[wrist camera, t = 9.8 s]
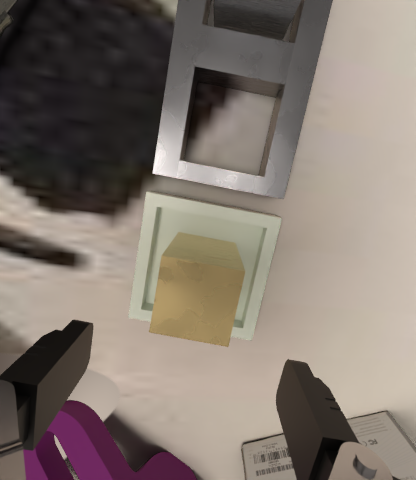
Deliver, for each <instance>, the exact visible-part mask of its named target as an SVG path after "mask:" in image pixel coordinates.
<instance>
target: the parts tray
mask: <svg viewBox="0 0 416 480" xmlns="http://www.w3.org/2000/svg"><path fill="white" fill-rule="evenodd" d="M281 221H282V218H281V217H279V216H277V215H272V214H267V213H262V212H257V211H251V210H246V209H241V208H236V207H231V206H226V205H221V204H216V203H211V202H205V201H200V200H195V199H190V198H185V197H180V196H175V195H170V194H165V193H159V192H154V191H148V192H146V198H145V204H144V211H143V218H142V225H141V232H140V239H139V246H138V252H137V259H136V266H135V273H134V280H133V287H132V294H131V301H130V307H129V314H128V318H133V319H138V320H143V321H149V322H151V318H152V311H153V305H154V299H155V293H156V287H157V281H158V274H159V268H160V262H161V256H162V254H163V253H164V251H165V250H166V249H167V247H168V246H169V245H170V243H171V242H172V240H173V239H174V238H175V236H176V235H177V233H178V232H182V233H187V234H192V235H197V236H203V237H208V238H213V239H218V240H223V241H229V242H234V243H236V246H237V249H238V252H239V254H240V257H241V260H242V263H243V266H244V269H245V276H244V280H243V284H242V289H241V293H240V298H239V302H238V306H237V311H236V315H235V319H234V324H233V328H232V333H231V337H234V338H239V339H245V340H250V341H252V338H253V334H254V330H255V326H256V322H257V318H258V314H259V310H260V306H261V302H262V298H263V294H264V290H265V286H266V282H267V277H268V273H269V269H270V265H271V261H272V257H273V253H274V249H275V245H276V241H277V237H278V233H279V229H280V225H281Z"/></svg>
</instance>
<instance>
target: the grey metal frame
mask: <svg viewBox="0 0 416 480" xmlns="http://www.w3.org/2000/svg"><path fill="white" fill-rule="evenodd" d="M332 1H333V0H301V2H300V4H299V6H298V8H297V10H296V12H295V15H294V20H293V24H292V29H291V33H290V37H289V42H285V41H281V40H276V39H271V38H266V37H261V36H256V35H251V34H247V33H242V32H237V31H232V30H227V29H222V28H218V27H213V26H208V25H207V22H208V16H209V11H210V5H211V0H178V6H177V13H176V19H175V26H174V33H173V40H172V46H171V53H170V60H169V67H168V73H167V80H166V87H165V94H164V100H163V107H162V114H161V121H160V127H159V134H158V141H157V148H156V154H155V161H154V168H153V174H158V175H163V176H168V177H173V178H178V179H183V180H188V181H193V182H199V183H204V184H209V185H214V186H219V187H224V188H229V189H234V190H239V191H244V192H249V193H254V194H260V195H265V196H270V197H275V198H280V199H284V196H285V192H286V188H287V184H288V180H289V176H290V172H291V167H292V163H293V159H294V155H295V151H296V147H297V143H298V139H299V135H300V131H301V127H302V123H303V119H304V115H305V111H306V106H307V102H308V98H309V94H310V90H311V86H312V82H313V78H314V74H315V70H316V66H317V62H318V58H319V54H320V50H321V45H322V41H323V37H324V33H325V29H326V25H327V21H328V17H329V13H330V9H331V5H332ZM197 82H203V83H207V84H212V85H217V86H222V87H227V88H232V89H237V90H242V91H247V92H252V93H257V94H262V95H267V96H272V97H276V100H275V104H274V109H273V113H272V118H271V122H270V127H269V131H268V136H267V140H266V145H265V149H264V154H263V158H262V162H261V167H260V171H259V176H256V175H250V174H245V173H240V172H235V171H230V170H225V169H220V168H215V167H210V166H205V165H200V164H195V163H190V162H185V161H184V158H185V152H186V147H187V141H188V135H189V129H190V123H191V117H192V111H193V105H194V99H195V93H196V87H197Z"/></svg>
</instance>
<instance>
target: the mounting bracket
mask: <svg viewBox="0 0 416 480" xmlns="http://www.w3.org/2000/svg"><path fill="white" fill-rule="evenodd" d="M54 435H55V436H56V437H57V438H58V440H59V442H60V444H61V446H62V448H63V449H64V451H65V453H66V455H67V457H68V459H69V461H70V463H71V465H72V466H73V468H74V470H75V472H76V474H77V476H78V478H79V479H80V480H197V479H196V477H195V475H194V473H193V472H192V470H191V469H190V468H189V466H187V465H186V464H185V463H183V462H182V461H181V460H179V459H178V458H177V457H175V456H174V455H173V454H171V453H169V452H161V453H158V454H156V455H154V456H153V457H152V458H151V459H150V460H149V461H147V462H146V463H145V464H144V465H143V466H142V467H141V468H140V469H139V470H138V471H137V472H134V471H133V470H132V469H131V468H130V466H129V465H128V463H127V461H126V460H125V458H124V456H123V455H122V453H121V451H120V450H119V448H118V447H117V445H116V443H115V442H114V440H113V438H112V437H111V435H110V433H109V432H108V430H107V428H106V427H105V425H104V423H103V422H102V420H101V419H100V417H99V416H98V415H97V414H96V413H95V411H94V410H92V409H91V408H90V407H89V406H87V405H86V404H84V403H81V402H79V401H73V400H68V401H66V402H65V403H64V405H63V406H62V408H61V409H60V411H59V412H58V414H57V415H56V417H55V418H54V420H53V421H52V423H51V424H50V426H49V427H48V429H47V430H46V432H45V433H44V435H43V436H42V438H41V440H40V441H39V443H38V444H37V446H36V447H35V449H34V450H33V451H30V450H24V449H23V454H24V464H25V475H26V480H74V478H73V476H72V475H71V473H70V471H69V469H68V467H67V465H66V463H65V461H64V459H63V458H62V456H61V454H60V452H59V450H58V448H57V446H56V444H55V440H54Z"/></svg>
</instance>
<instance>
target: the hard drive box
mask: <svg viewBox="0 0 416 480" xmlns="http://www.w3.org/2000/svg"><path fill="white" fill-rule="evenodd" d="M347 421H348V423H349V425H350V427H351V429H352V430H353V432H354V434H355V436H356V438H357V439H358V441H359V443H360V444H361V445H363V446H365V447H367V448H369V449H370V450H372V451H373V452H374V453H376V454H377V455H378V456H379V457H380V458H381V459H382V460H383V461H384V462H385V464H386V465H387V466H388V468H389V470H390V472H391V474H392V476H394V477H396V478H398V479H400V480H416V447H415V446H414V444H413V443H412V442H411V441H410V439H409V438H408V437H407V435H406V434H405V433H404V432H403V430H402V429H401V428H400V426H399V425H398V424H397V423H396V421H395V420H394V419H393V417H392V416H391V415H390V413H389V412H381V413H377V414H373V415H369V416H364V417H358V418H354V419H348V420H347ZM241 451H242V458H243V465H244V473H245V480H297V479H296V475H295V471H294V468H293V464H292V461H291V457H290V454H289V450H288V446H287V443H286V439H285V436H284V434H283V435H279V436H275V437H270V438H267V439H265V440H260V441H256V442H252V443H247V444H244V445H243V446H242V449H241Z"/></svg>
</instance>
